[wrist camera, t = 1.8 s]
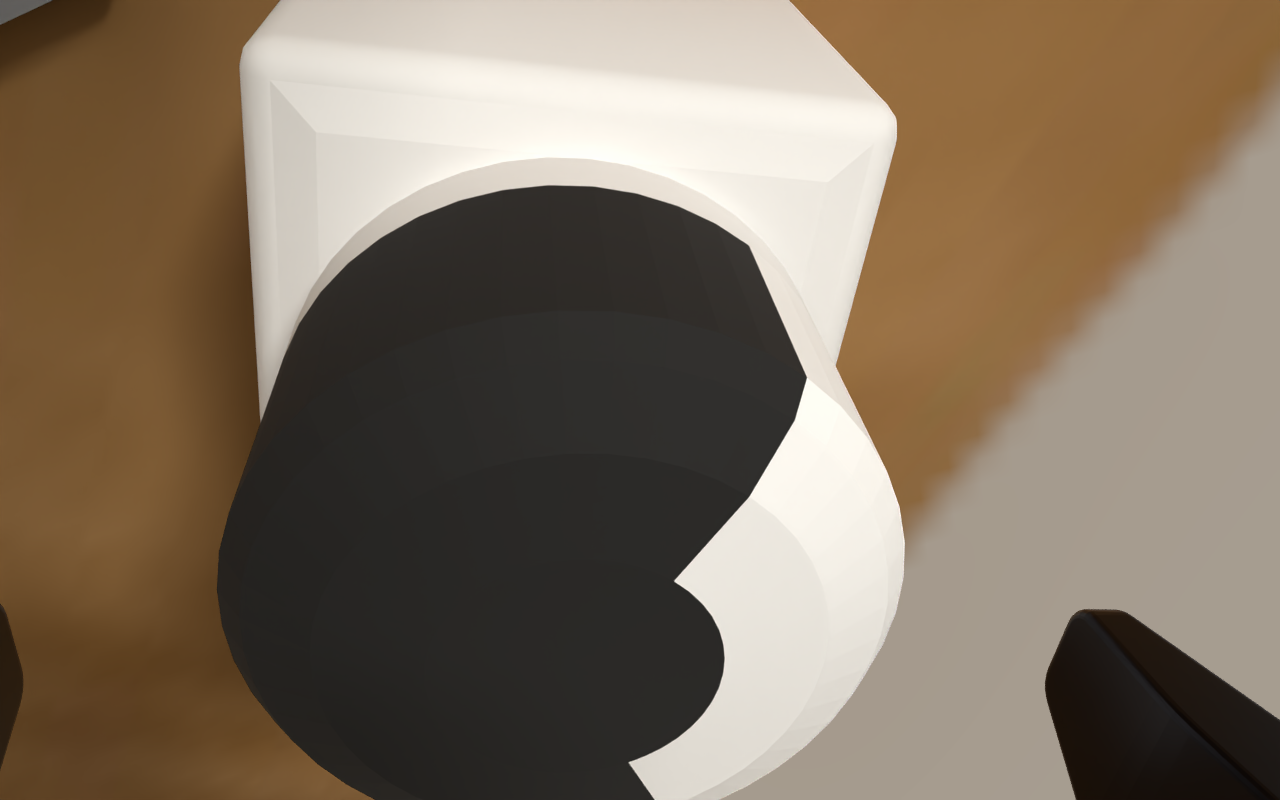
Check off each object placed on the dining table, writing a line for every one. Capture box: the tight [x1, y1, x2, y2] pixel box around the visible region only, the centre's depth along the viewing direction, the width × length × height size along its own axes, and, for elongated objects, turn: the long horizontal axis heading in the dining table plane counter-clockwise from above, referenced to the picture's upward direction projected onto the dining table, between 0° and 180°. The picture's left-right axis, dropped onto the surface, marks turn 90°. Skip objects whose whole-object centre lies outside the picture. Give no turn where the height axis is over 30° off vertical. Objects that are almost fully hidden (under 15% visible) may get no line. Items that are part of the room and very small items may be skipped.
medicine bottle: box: [217, 0, 905, 800], centre depth 14 cm, size 7×7×12 cm
